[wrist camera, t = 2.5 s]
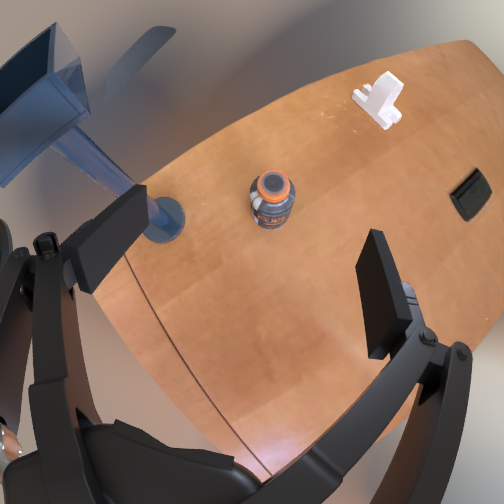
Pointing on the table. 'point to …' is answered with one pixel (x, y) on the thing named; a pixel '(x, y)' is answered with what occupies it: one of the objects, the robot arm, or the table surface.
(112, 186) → the square tray stand
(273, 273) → the table surface
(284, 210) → the pill bottle
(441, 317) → the table surface
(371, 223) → the table surface
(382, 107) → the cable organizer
